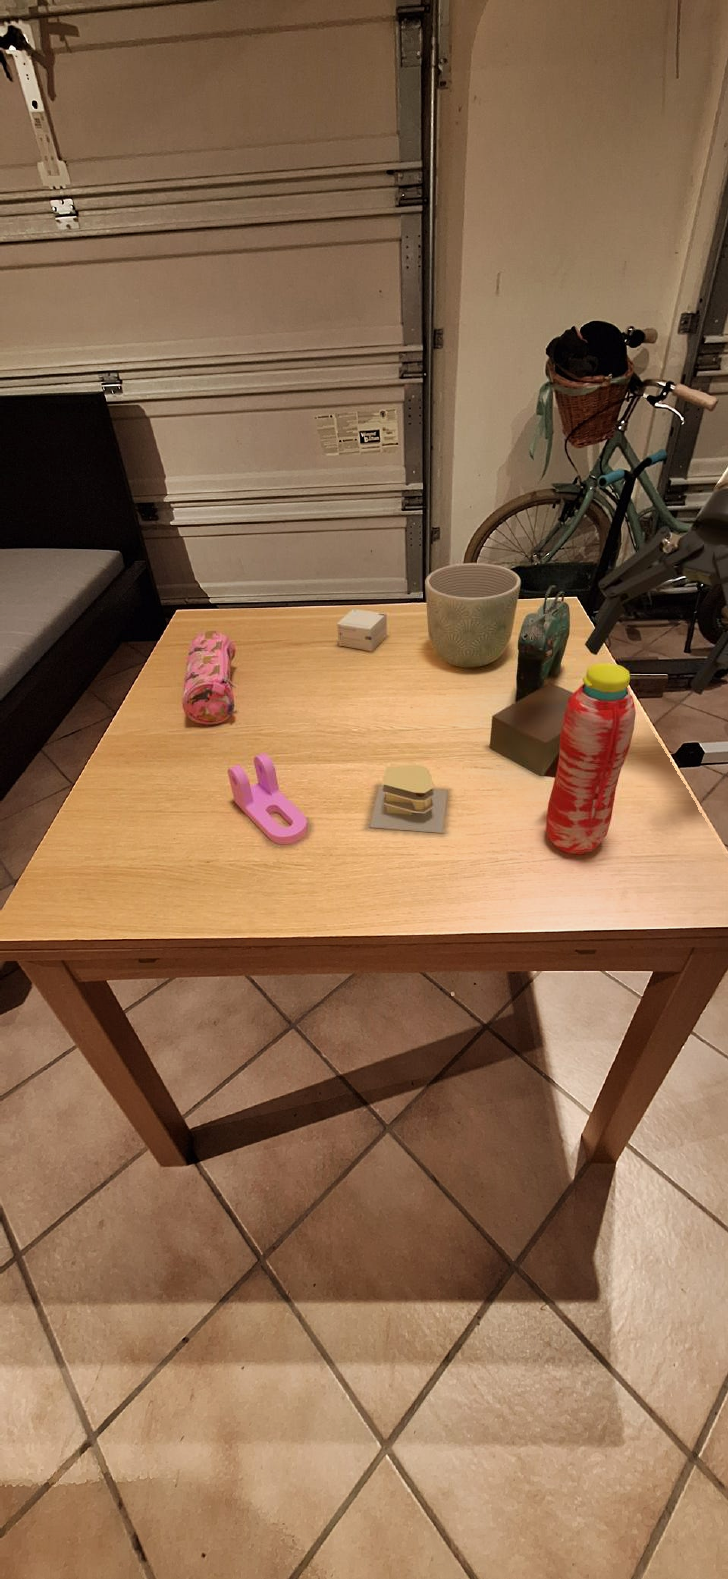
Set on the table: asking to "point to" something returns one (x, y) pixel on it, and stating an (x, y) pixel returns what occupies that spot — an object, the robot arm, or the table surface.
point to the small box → (362, 629)
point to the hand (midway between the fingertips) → (639, 668)
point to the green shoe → (542, 645)
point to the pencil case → (209, 679)
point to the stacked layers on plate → (409, 801)
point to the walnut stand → (531, 728)
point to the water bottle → (590, 759)
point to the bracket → (267, 802)
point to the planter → (471, 612)
